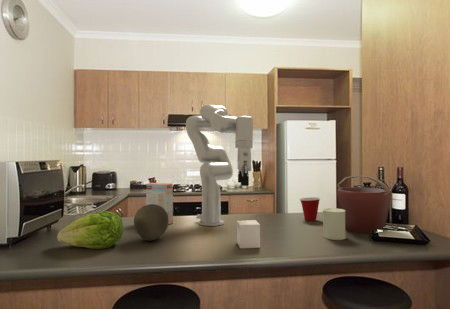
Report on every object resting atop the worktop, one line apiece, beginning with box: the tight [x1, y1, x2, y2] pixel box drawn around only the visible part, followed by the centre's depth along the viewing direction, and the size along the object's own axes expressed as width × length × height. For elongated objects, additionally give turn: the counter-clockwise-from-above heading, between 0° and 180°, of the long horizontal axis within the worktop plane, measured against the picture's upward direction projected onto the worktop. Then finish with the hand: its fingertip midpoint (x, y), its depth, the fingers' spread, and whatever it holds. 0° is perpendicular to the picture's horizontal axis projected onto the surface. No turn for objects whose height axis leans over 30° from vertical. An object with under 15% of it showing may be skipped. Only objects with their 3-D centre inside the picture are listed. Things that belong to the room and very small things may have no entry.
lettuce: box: [56, 210, 124, 250], centre depth 119 cm, size 14×24×15 cm
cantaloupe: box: [133, 204, 169, 241], centre depth 127 cm, size 14×14×15 cm
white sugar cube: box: [236, 219, 261, 249], centre depth 119 cm, size 8×8×9 cm
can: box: [322, 207, 347, 241], centre depth 130 cm, size 9×9×12 cm
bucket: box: [336, 175, 392, 235], centre depth 143 cm, size 24×22×25 cm
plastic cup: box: [299, 197, 321, 222], centre depth 164 cm, size 11×11×12 cm
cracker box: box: [145, 182, 174, 226], centre depth 159 cm, size 14×6×21 cm, turn 58°
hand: (243, 184), depth 133 cm, fingers open, 9 cm apart
